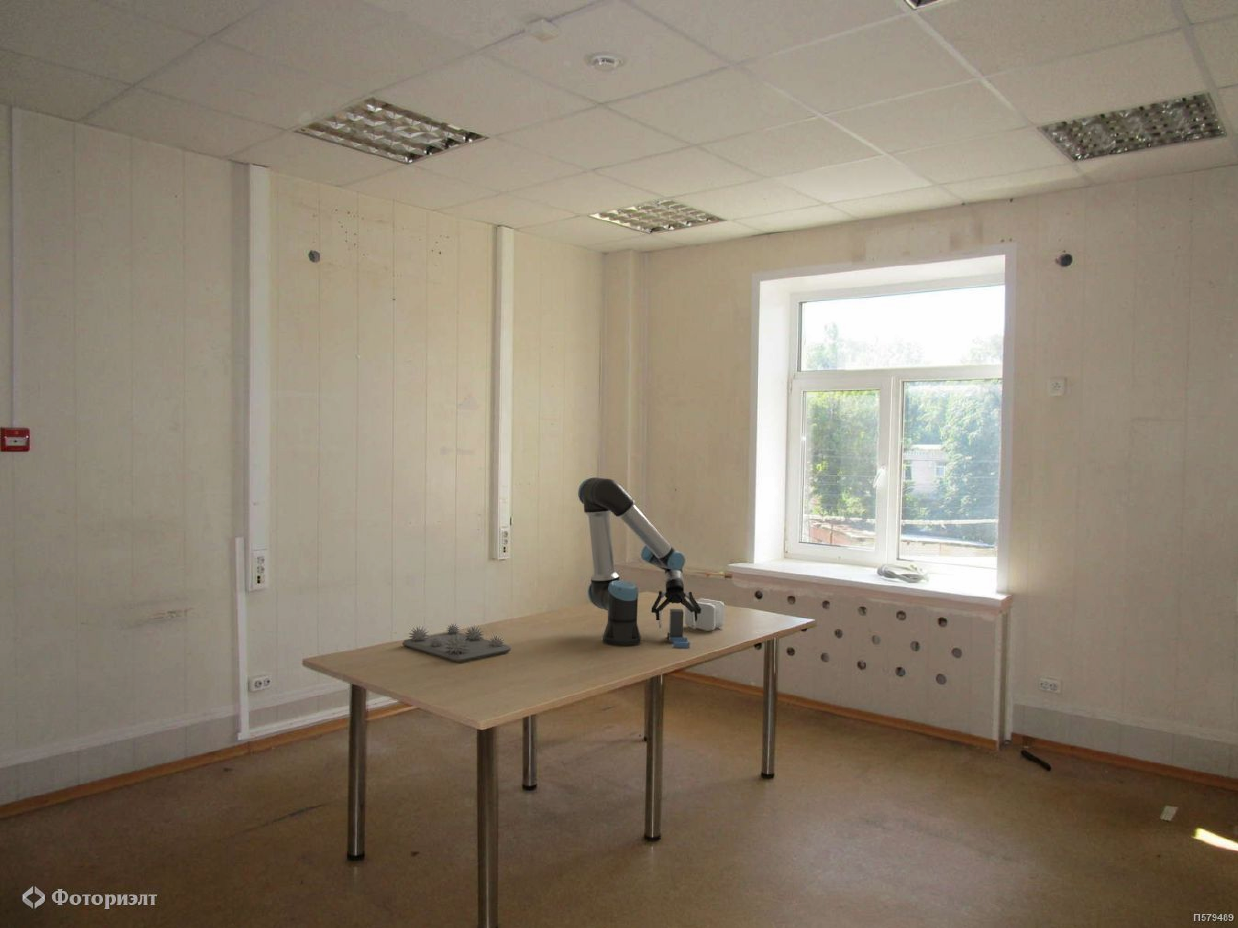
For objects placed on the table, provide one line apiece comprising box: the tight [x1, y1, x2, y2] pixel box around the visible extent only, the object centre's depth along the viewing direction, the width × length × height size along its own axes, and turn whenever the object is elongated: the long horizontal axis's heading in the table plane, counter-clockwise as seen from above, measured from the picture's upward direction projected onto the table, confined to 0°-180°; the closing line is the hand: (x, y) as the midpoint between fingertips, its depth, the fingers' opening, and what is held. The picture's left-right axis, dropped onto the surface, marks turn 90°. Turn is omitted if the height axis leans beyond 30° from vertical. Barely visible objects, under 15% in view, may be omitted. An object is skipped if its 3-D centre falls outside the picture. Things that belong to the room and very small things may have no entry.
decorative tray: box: [401, 623, 512, 664], centre depth 307 cm, size 35×26×10 cm
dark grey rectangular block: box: [668, 608, 684, 637], centre depth 334 cm, size 5×5×12 cm
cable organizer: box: [684, 598, 726, 632], centre depth 358 cm, size 15×11×12 cm
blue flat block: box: [671, 637, 691, 649], centre depth 325 cm, size 6×9×2 cm
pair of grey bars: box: [666, 631, 685, 643], centre depth 334 cm, size 6×9×2 cm
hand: (677, 626), depth 332 cm, fingers open, 13 cm apart
